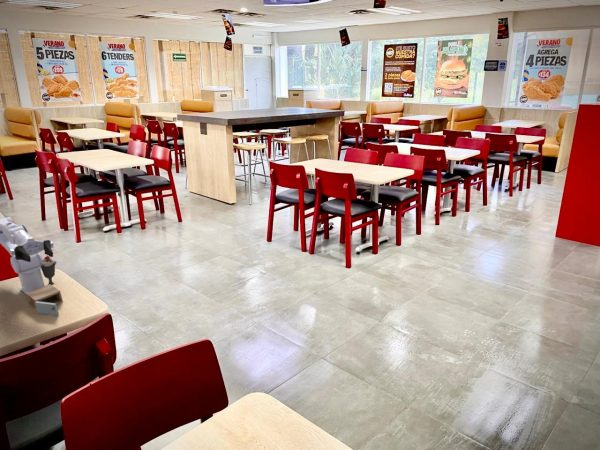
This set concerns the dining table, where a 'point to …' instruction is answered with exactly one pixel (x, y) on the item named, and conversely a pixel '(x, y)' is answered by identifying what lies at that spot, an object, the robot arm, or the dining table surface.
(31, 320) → the dining table surface
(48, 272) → the sundae
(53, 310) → the door
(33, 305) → the cabinet
